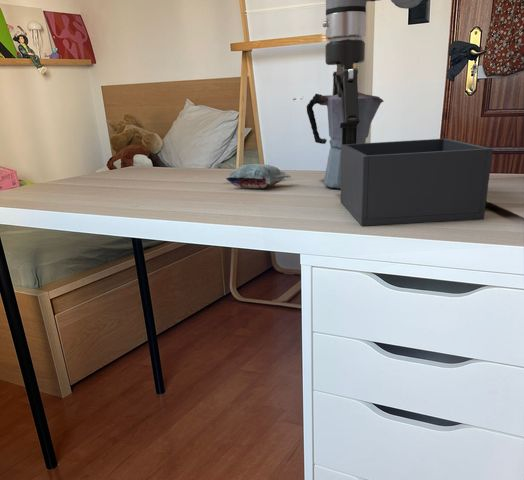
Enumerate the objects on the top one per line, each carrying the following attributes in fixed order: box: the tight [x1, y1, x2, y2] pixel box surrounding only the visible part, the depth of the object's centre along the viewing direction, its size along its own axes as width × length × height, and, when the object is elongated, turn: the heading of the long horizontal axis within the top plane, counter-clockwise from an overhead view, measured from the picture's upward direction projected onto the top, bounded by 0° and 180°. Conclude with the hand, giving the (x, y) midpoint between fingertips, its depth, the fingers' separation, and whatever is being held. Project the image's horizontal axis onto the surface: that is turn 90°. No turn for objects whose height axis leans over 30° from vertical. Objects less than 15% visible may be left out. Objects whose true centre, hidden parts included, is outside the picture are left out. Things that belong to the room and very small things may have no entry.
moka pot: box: [306, 91, 384, 190], centre depth 108 cm, size 10×15×20 cm, turn 80°
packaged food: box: [225, 163, 291, 189], centre depth 117 cm, size 9×12×5 cm
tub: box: [340, 138, 494, 227], centre depth 86 cm, size 19×20×10 cm
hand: (343, 159), depth 110 cm, fingers open, 12 cm apart
